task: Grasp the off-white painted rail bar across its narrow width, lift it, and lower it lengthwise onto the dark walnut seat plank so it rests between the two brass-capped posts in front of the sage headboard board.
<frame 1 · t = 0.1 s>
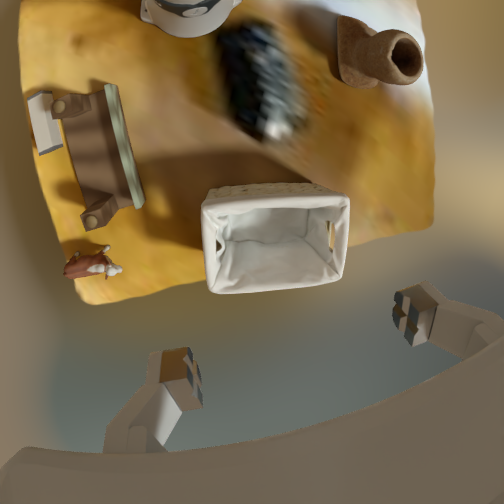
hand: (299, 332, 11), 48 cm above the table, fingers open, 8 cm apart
bull figurine: (98, 254, 58), on the table
rail bar: (50, 121, 44), on the table
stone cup: (359, 55, 48), on the table
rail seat: (101, 152, 49), on the table
storage basket: (262, 216, 60), on the table
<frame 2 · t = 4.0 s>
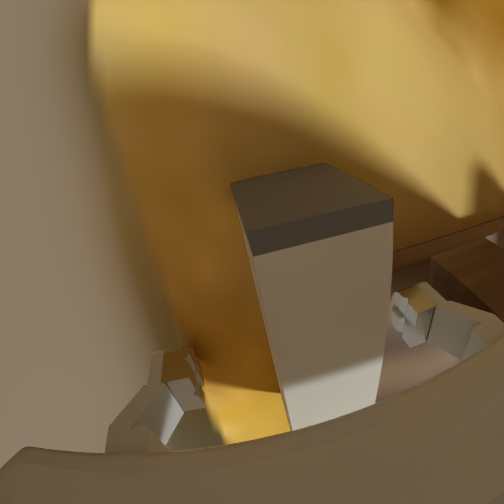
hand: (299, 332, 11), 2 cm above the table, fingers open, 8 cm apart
rail bar: (300, 306, 13), on the table
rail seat: (432, 371, 18), on the table
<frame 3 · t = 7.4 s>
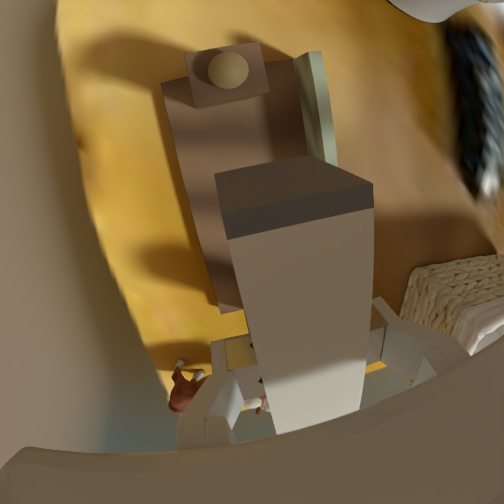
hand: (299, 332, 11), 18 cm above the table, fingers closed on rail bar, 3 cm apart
bull figurine: (221, 361, 36), on the table
rail bar: (285, 301, 13), point 16 cm above the table, touching gripper
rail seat: (256, 192, 27), on the table
storage basket: (449, 295, 39), on the table
when the fingers open (4 cm above the table, at t = 10.2 s): rail bar stays where it is, resting on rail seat.
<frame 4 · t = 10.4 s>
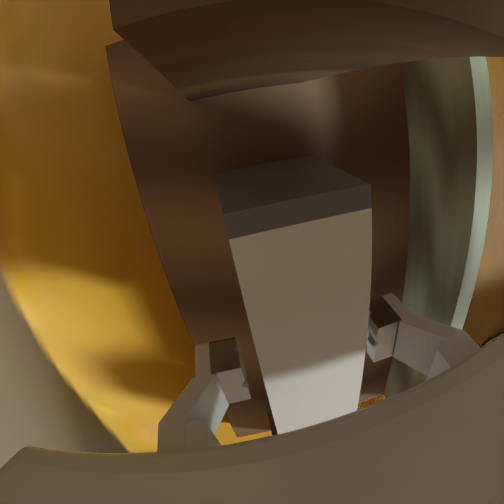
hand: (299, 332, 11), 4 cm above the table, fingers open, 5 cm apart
rail bar: (284, 299, 13), point 1 cm above the table, touching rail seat
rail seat: (306, 273, 14), on the table
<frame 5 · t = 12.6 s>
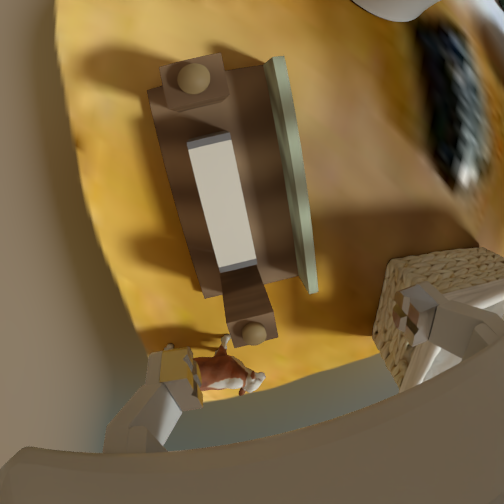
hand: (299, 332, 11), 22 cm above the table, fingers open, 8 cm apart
bull figurine: (207, 346, 39), on the table
rail bar: (221, 194, 29), point 1 cm above the table, touching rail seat
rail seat: (233, 185, 30), on the table
storage basket: (430, 287, 41), on the table
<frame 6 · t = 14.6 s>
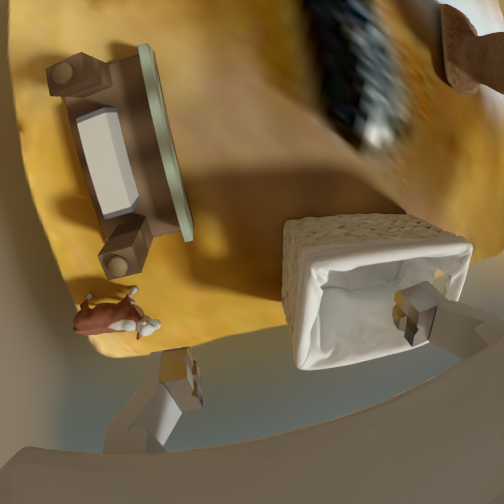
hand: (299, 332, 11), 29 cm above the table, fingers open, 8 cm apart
bull figurine: (121, 297, 42), on the table
rail bar: (114, 158, 32), point 1 cm above the table, touching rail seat
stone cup: (458, 53, 32), on the table
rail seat: (126, 151, 33), on the table
storage basket: (346, 255, 45), on the table
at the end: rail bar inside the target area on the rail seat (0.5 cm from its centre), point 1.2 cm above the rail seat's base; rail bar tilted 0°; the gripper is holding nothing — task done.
